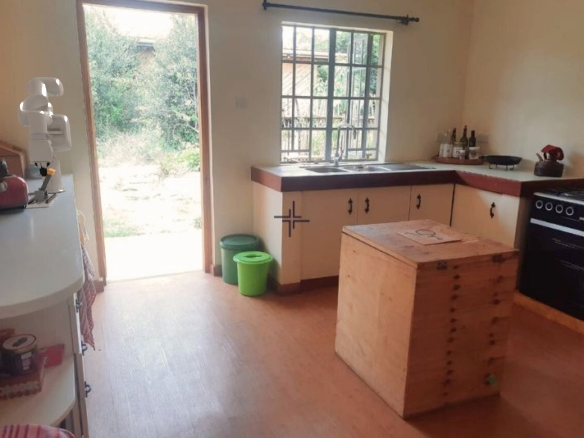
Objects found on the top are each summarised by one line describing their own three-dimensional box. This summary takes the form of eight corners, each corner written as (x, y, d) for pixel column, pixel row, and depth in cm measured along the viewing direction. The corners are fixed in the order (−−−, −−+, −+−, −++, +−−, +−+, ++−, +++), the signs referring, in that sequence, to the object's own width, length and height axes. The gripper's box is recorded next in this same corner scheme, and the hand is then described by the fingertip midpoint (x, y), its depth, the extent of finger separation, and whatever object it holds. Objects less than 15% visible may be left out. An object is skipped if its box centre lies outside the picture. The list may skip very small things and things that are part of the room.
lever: (39, 192, 222) (50, 168, 221) (44, 194, 223) (55, 170, 222) (36, 194, 216) (48, 169, 215) (42, 196, 217) (53, 171, 216)
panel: (36, 199, 230) (34, 185, 228) (58, 197, 233) (56, 184, 231) (25, 208, 208) (23, 193, 206) (49, 206, 211) (47, 192, 209)
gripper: (58, 137, 219) (62, 174, 223) (23, 137, 215) (28, 176, 219) (55, 137, 212) (59, 176, 216) (19, 138, 208) (24, 178, 212)
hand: (44, 176), depth 217 cm, fingers closed
